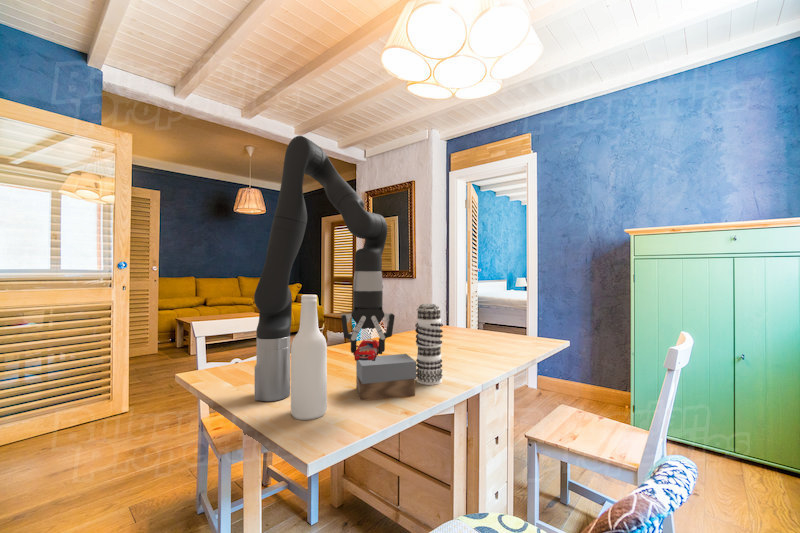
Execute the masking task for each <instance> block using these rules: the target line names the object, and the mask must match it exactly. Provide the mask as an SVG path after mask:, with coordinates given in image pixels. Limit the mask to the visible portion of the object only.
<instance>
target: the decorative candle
mask: <svg viewBox="0 0 800 533" xmlns="http://www.w3.org/2000/svg"><path fill="white" fill-rule="evenodd" d="M441 310H442V308H441V307H440V306H439V305H438V304H436V303H422V304H420V305H419V307H418V308H416V311H417V318H416V323H415V330H414V332H415V333H416V334H415V338H416V340H415V343H416V346H417V354H416V360H415V361H416V379H415V381H416V382H417V383H418V384H421V385H424V386H426V385H427V386H432V385H434V384H435V385H439V384H442V383H443V379H442V378H443V369H442V368H443V364H442V363H443V359H442V353H441V350H442V349H441V347H442V346H443V340H441V338H442V337H443V336H444V335H443V334H442V333H443V332H444V331H443V330H442V329H441V328H442V327H443V326H444V324H443V323H442V318H441Z"/></svg>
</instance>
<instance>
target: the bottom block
mask: <svg viewBox="0 0 800 533" xmlns="http://www.w3.org/2000/svg"><path fill="white" fill-rule="evenodd" d="M356 391H357V395H358V400H359V401H364V400H366V401H368V400H377V399H390V398H391V399H392V398H403V397H415V396H416V379H409V380H399V381H388V382H378V383H367V384H362V383H361V381H360V379H359V378H358V376H357V374H356Z"/></svg>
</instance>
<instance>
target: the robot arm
mask: <svg viewBox="0 0 800 533" xmlns="http://www.w3.org/2000/svg"><path fill="white" fill-rule="evenodd" d="M286 147H287V148H286V151H285V154H284V160H283V168H282V176H281V183H280V184H281V185H280V190H279V194H278V198H277V204H276V208H275V211H274V216H273V219H272V223H271V228H270V229H271V230H270V233H269V238H268V244H267V250H266V257H265V262H264V265H263V269H262V271H261V272H262V273H261V275H260V278H259V280H258V283H257V285H256V288H255V291H254V296H253V300H254V304H255V307H256V309H258V311H259V313H258V314H259V318H258V324H257V327H256V361H255V362H256V364H255V365H254V401H261V402H274V401H280V400H284V399H286V398H288V397H289V396H291V326H292V313H293V312H292V311H293V310H292V309H293V308H292V307H293V306H292V304H293V302H292V301H293V299H292V292H291V289H290V287H289V283H290V277H291V271H292V269H293V268H292V267H293V264H294V262H295V260H296V258H297V255H298V254H299V251H300V248H301V247H302V244H303V240H304V236H305V233H306V229H307V223H308V212H307V206H306V201H305V198H304V190H303V187H304V177H305V175H307V176H309V177H311V178H312V179H313V180H315V181H317V182H318V183H319V184H320V185H321V186H322V187H323V190H324V191H325V195H326V197H327V199H328V201H329V202H330V203H331V204H332V206H333V207H334V209H336V210H337V211H338V213H339V214H340V215H341V216H342V219H343V222H344V224H345V225H346V228H347V230H348V231H349V232H350V233H351V235H353V236H354V237H356V238H358V239H363V240H364V244H363V247H362V248H359V249H357V250H356V251H355V254H354V275H353V285H352V287H353V297H352V298H353V309H352V312H351V313H342V314H341V316H340V318H341V324H342V332H343V334H342V335H343V338H345V339H348V340H350V352H351V354H353V356H354V354H355V351H356V350H357V347H356V346H357V339H356V338H357V337H358V335H359V333H360V332H361V330H366V329H370V330H371V329H372V330H373V329H375V330H376V333H377V334H378V337H379V338H378V342H379V354H378V355H383V353H384V352H385V351H386V349H385V348H386V339H387V338H391V337H392V336H393V332H394V330H393V329H394V324H395V314H394V313H392V312H390V313H386V312H385V311H384V309H383V301H384V300H383V297H384V296H383V288H384V284H383V269H382V268H383V266H382V265H383V260H382V258H383V257H382V256H383V253H384V249H385V246H386V241H387V237H388V224H387V221H386V219H385V218H384V216H383V215H381V214H379V213H374V212H370V211H368V210H366V209H365V202H364V200H363V199H362V198H361V196H360V195H359V194H358V193H357V192H356V190H354V188H352V186H351V185H350V184H349V183H348V182H347V181H346V180H345V179H344V178H343V177H342V176H341V175H340V174H339V172H338V171H337V169H336V168H335V166H334V165H333V163H332V161H331V160H330V158H329V156H328V155H327V153H326V152H325V151H324V149H323V148H322V147H321V146H319V145H318V144H316V143H315V142H313V141H312V140H310V139H309V138H307V137H305V136H303V135H297V136H294V137H292V139H291V140H290V142H289V143H288V144H287V146H286ZM384 318H385V321H386V322H387V324H386V332H384V331H383V330H382V328H381V325H380V323H381V321H382V320H383V319H384ZM351 319H353V321H354V322H355V323H356V324H355V325H354V328H353V330H352V332H351V333H350V332H349V329H348V323H350V320H351Z"/></svg>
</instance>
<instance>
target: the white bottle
mask: <svg viewBox="0 0 800 533" xmlns="http://www.w3.org/2000/svg"><path fill="white" fill-rule="evenodd" d="M300 297H301V298H300V299H301V300H300V303H301V305H300V306H301V307H300V318H299V329H298V331H297V333H296V334H295V336H294V337H293V338H292V341H291V343H290V414H291V415H292V417H293V418H294V419H296V420H299V421H311V420H315V419H318V418H321V417H323V416H324V415H325V414H326V412H327V409H328V403H327V402H328V395H327V394H328V391H327V390H328V380H327V379H328V376H327V375H328V368H327V367H328V363H327V362H328V359H327V358H328V353H327V352H328V348H327V347H328V346H327V345H328V344H327V340H326V337H325V336H324V334H323V333H322V332H321V331H320V328H319V317H318V316H319V315H318V306H317V305H318V304H317V302H318V299H317V297H318V295H317V294H302V295H301V296H300Z"/></svg>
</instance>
